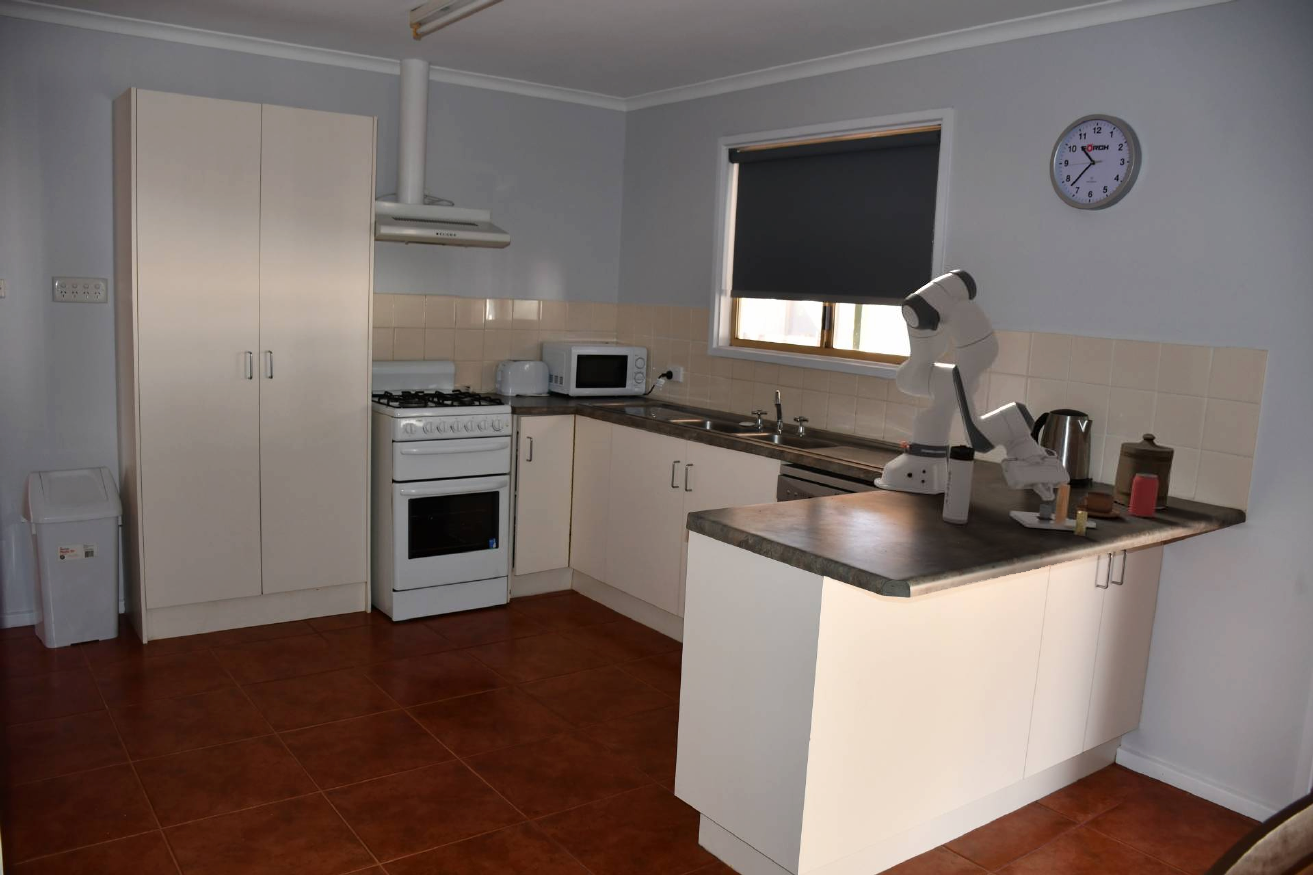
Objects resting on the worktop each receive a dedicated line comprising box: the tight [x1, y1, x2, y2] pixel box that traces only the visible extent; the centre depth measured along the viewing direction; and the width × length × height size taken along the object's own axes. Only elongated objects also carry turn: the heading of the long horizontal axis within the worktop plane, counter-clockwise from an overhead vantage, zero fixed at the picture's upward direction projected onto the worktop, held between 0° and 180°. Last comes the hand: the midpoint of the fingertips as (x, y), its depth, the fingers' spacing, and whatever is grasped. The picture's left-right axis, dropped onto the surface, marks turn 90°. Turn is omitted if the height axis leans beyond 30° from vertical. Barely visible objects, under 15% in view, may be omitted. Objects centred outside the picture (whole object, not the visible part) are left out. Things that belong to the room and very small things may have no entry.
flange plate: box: [1009, 484, 1097, 532], centre depth 263 cm, size 20×14×10 cm
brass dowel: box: [1074, 510, 1088, 537], centre depth 253 cm, size 2×2×6 cm
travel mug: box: [942, 444, 976, 525], centre depth 259 cm, size 6×7×20 cm
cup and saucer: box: [1075, 491, 1122, 519], centre depth 281 cm, size 12×12×6 cm
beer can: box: [1128, 473, 1159, 518], centre depth 283 cm, size 7×7×12 cm
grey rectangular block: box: [1038, 504, 1053, 520], centre depth 264 cm, size 3×3×5 cm
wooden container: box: [1112, 433, 1175, 508], centre depth 300 cm, size 15×15×22 cm
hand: (1049, 499), depth 270 cm, fingers closed
